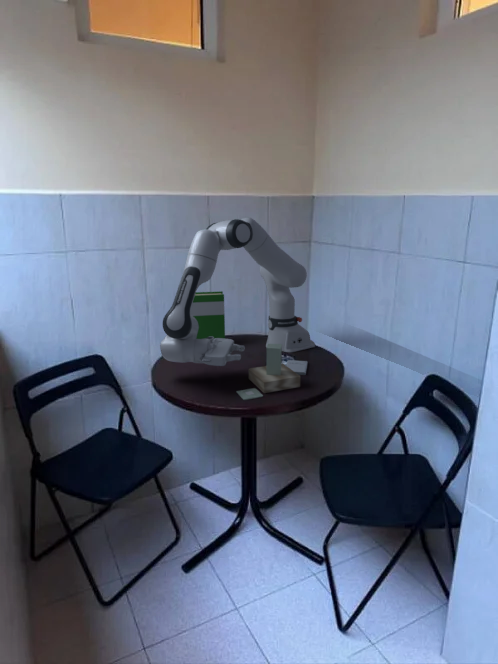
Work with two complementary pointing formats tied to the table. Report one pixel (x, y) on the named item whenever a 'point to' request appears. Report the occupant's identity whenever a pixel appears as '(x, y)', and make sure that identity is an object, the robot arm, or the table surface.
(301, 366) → the external hard drive
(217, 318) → the hardback book
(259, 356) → the table surface
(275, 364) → the sage block
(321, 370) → the table surface
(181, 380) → the table surface
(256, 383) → the birch base block
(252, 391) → the tile
